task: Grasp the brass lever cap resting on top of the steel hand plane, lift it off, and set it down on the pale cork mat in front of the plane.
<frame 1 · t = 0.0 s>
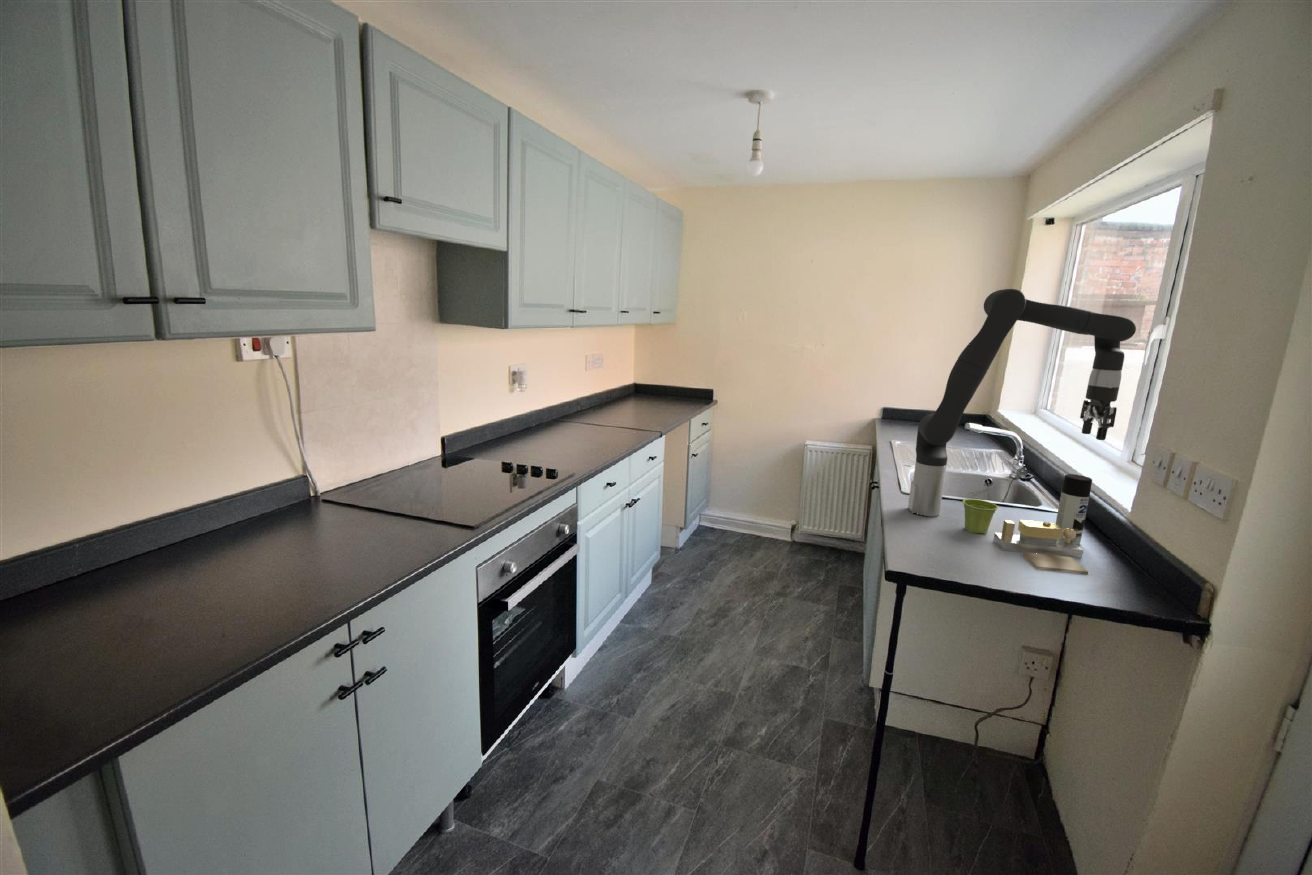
hand: (1093, 436, 173), 29 cm above the countertop, tool pointing down, fingers open, 8 cm apart
spray can: (1065, 541, 167), on the countertop
plane body: (1035, 549, 161), on the countertop
cork mat: (1054, 564, 151), on the countertop
plant pot: (975, 530, 174), on the countertop
lever cap: (1038, 534, 160), point 4 cm above the countertop, touching plane body
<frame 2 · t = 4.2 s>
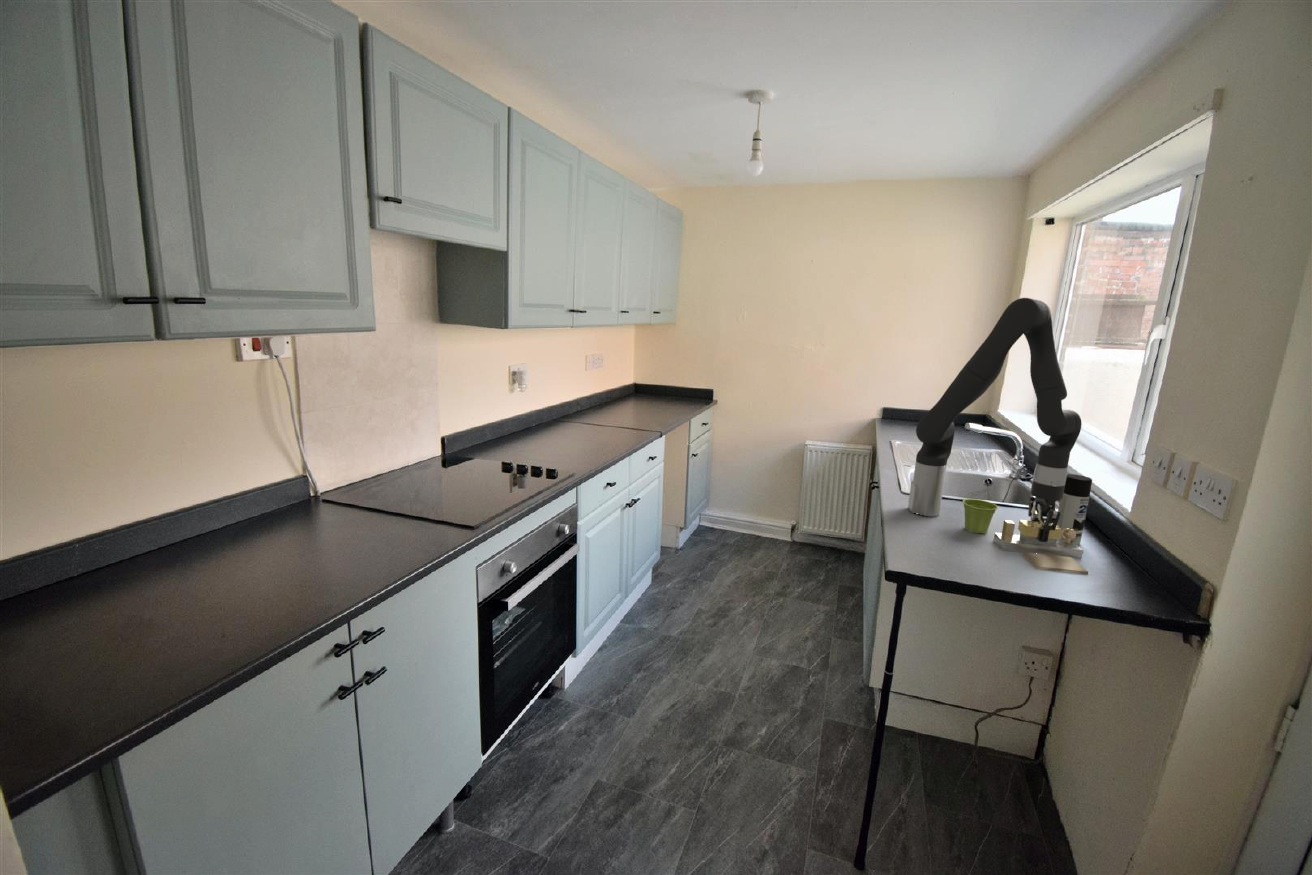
hand: (1038, 537, 160), 4 cm above the countertop, tool pointing down, fingers closed on lever cap, 5 cm apart
lever cap: (1038, 534, 160), point 5 cm above the countertop, touching gripper, plane body
everything else where it was.
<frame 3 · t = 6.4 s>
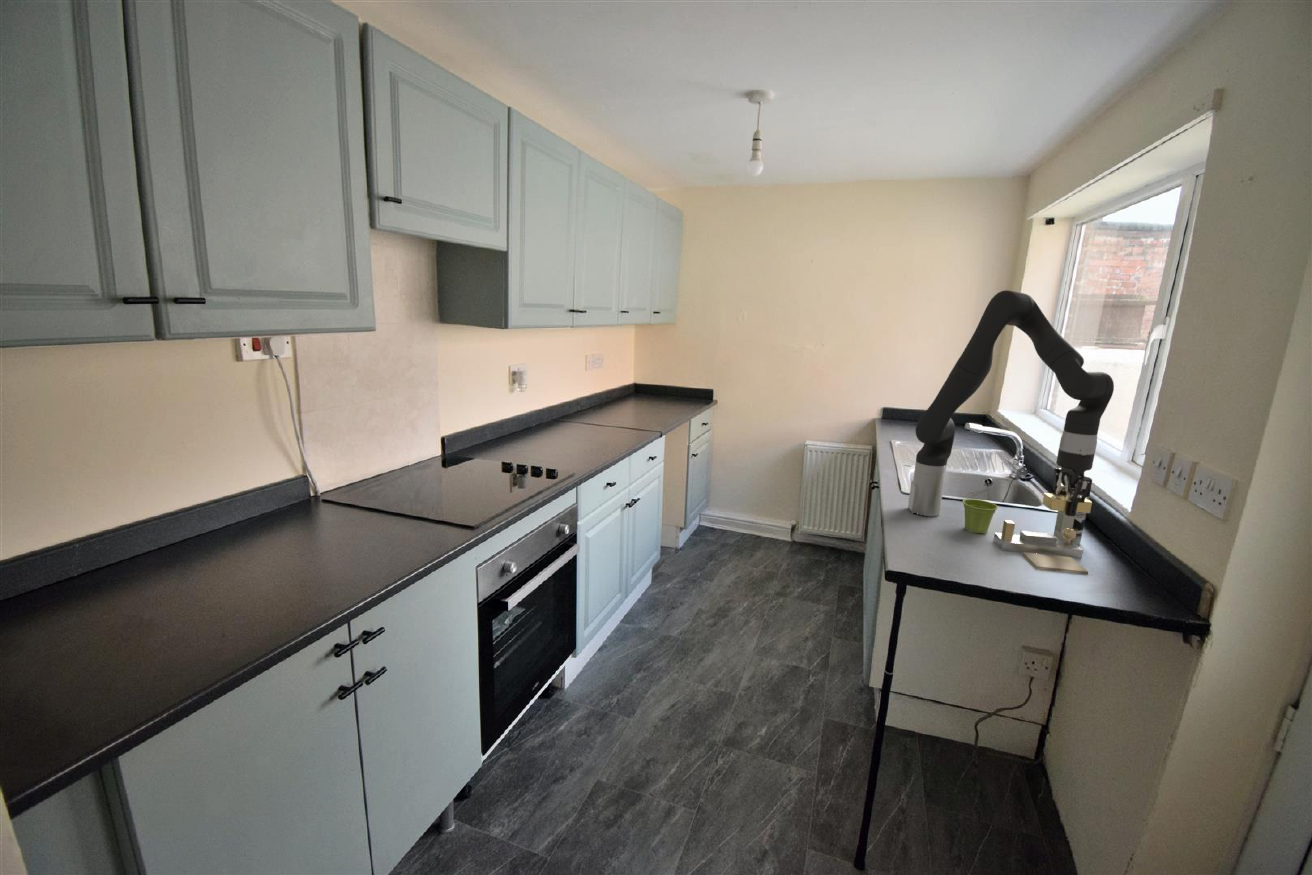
hand: (1064, 511, 148), 15 cm above the countertop, tool pointing down, fingers closed on lever cap, 5 cm apart
lever cap: (1065, 508, 148), point 16 cm above the countertop, touching gripper
everything else where it was.
when the fingers open (1 cm above the countertop, at t = 8.9 s): lever cap drops 1 cm, resting on cork mat.
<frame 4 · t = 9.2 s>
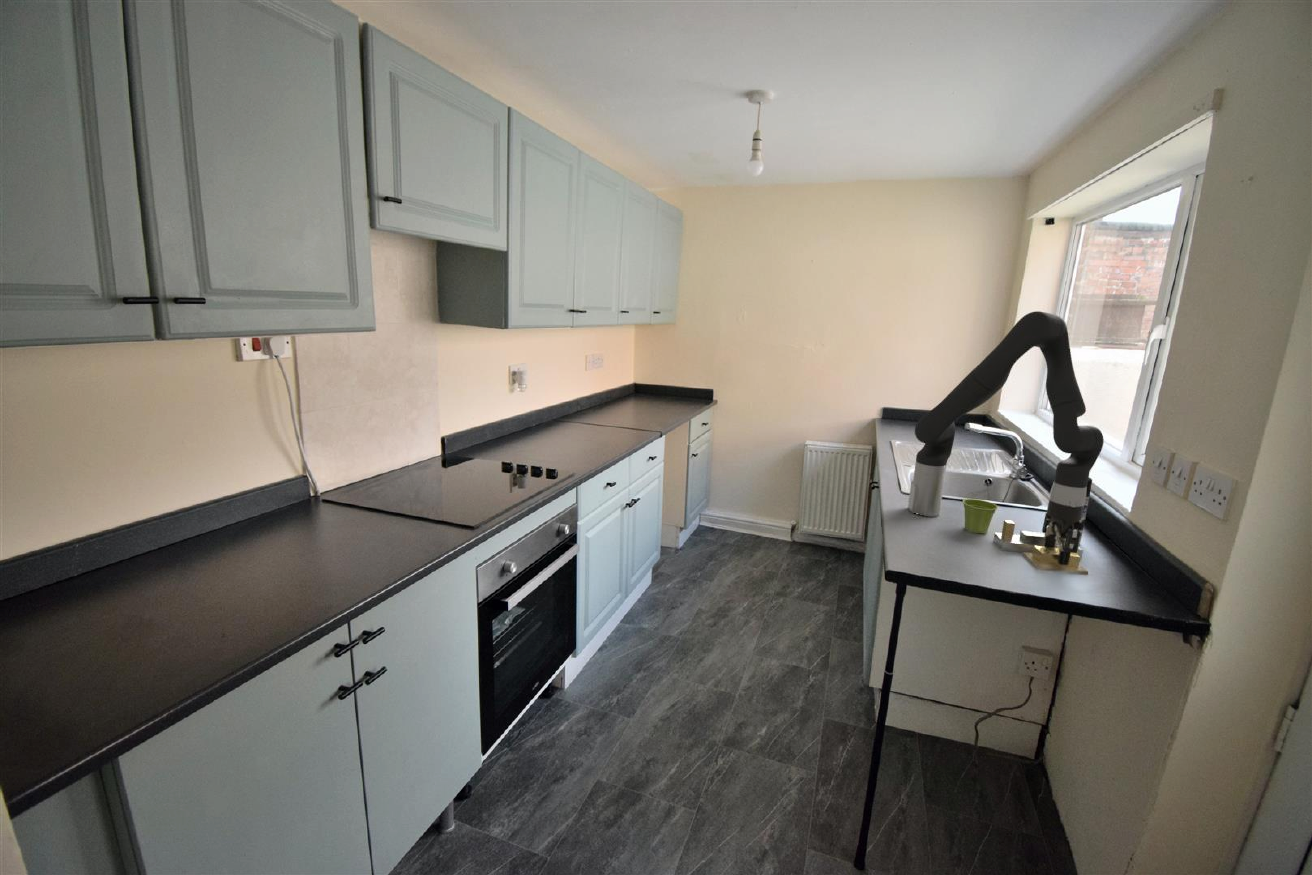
hand: (1055, 557, 151), 2 cm above the countertop, tool pointing down, fingers open, 8 cm apart
lever cap: (1054, 561, 151), point 1 cm above the countertop, touching cork mat
everything else where it was.
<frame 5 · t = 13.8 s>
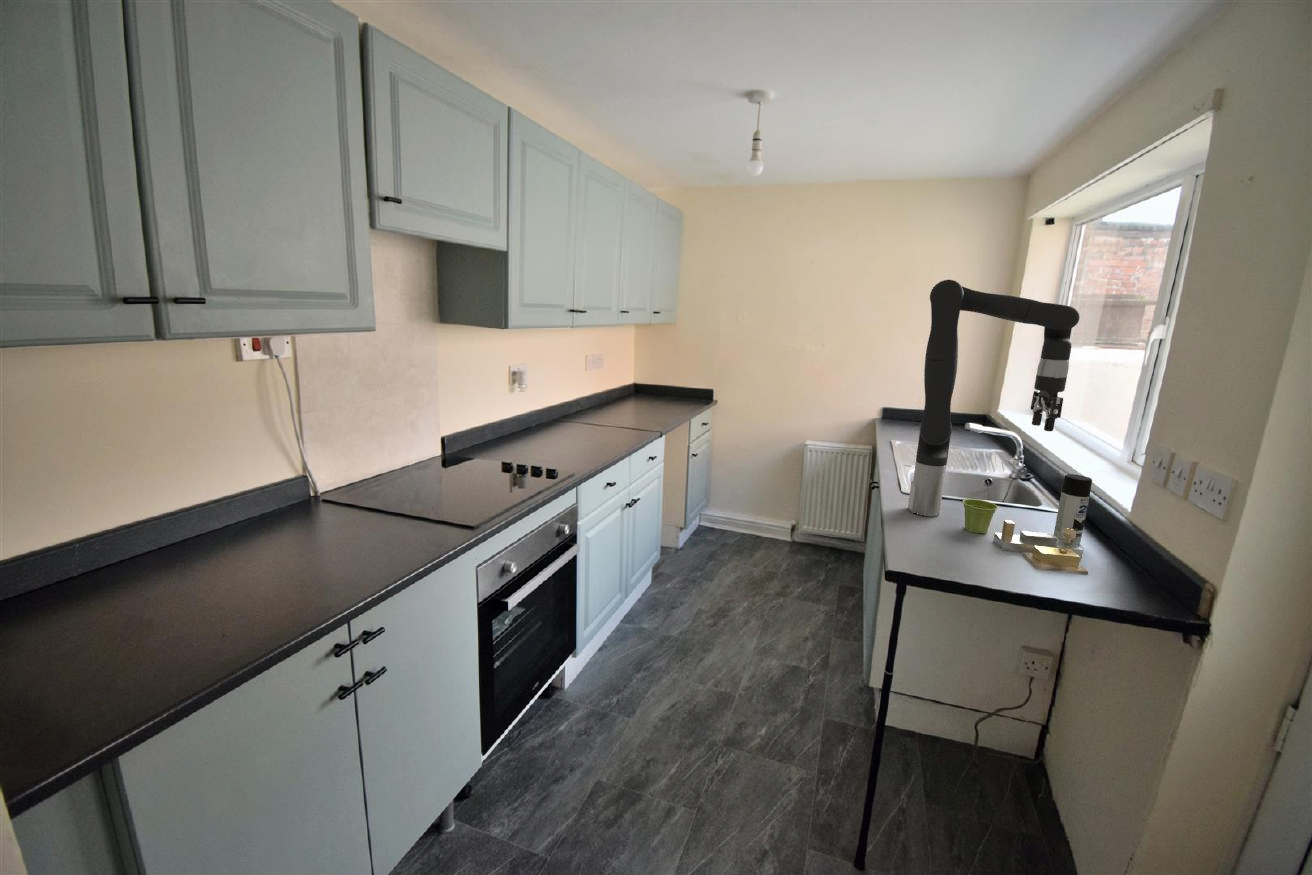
hand: (1041, 428, 170), 32 cm above the countertop, tool pointing down, fingers open, 8 cm apart
nothing on the countertop moved.
at the end: lever cap inside the target area on the cork mat (0.0 cm from its centre), point 0.8 cm above the cork mat's base; lever cap touching cork mat; the gripper is holding nothing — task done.
